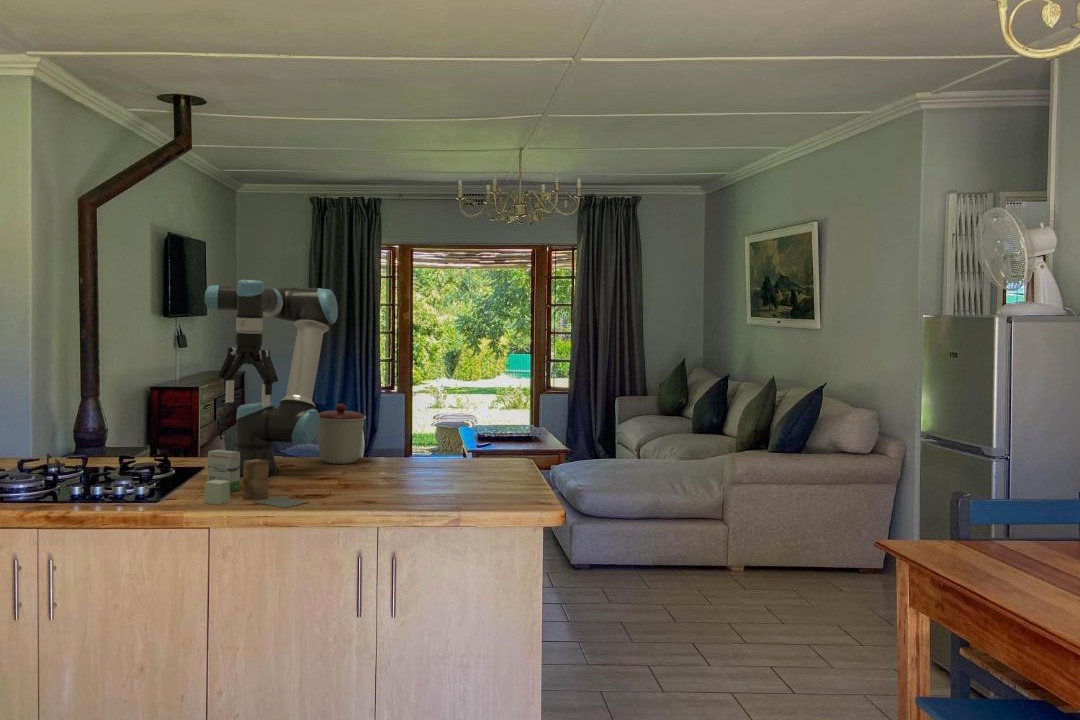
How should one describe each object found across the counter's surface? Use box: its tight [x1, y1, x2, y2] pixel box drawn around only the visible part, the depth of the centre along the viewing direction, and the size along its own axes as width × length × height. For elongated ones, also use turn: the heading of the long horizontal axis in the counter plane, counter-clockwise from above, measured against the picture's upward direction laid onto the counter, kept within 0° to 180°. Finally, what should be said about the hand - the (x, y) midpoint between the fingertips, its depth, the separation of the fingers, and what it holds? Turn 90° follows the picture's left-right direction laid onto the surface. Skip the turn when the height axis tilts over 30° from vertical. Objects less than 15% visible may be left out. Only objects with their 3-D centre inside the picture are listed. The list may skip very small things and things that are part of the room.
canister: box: [317, 403, 367, 465], centre depth 368 cm, size 18×18×21 cm
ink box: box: [206, 449, 241, 493], centre depth 311 cm, size 9×5×12 cm, turn 71°
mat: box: [252, 496, 307, 509], centre depth 296 cm, size 12×10×1 cm
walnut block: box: [242, 459, 269, 501], centre depth 300 cm, size 5×5×11 cm
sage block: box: [203, 480, 231, 506], centre depth 293 cm, size 5×5×6 cm
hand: (247, 404), depth 304 cm, fingers open, 13 cm apart
